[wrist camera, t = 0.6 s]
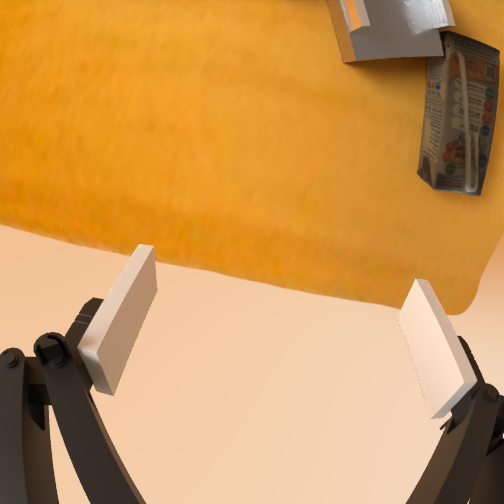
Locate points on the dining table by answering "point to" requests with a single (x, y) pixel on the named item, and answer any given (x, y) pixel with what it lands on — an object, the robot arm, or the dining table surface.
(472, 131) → the beverage carton
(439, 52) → the motor
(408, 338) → the robot arm
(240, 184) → the dining table surface
